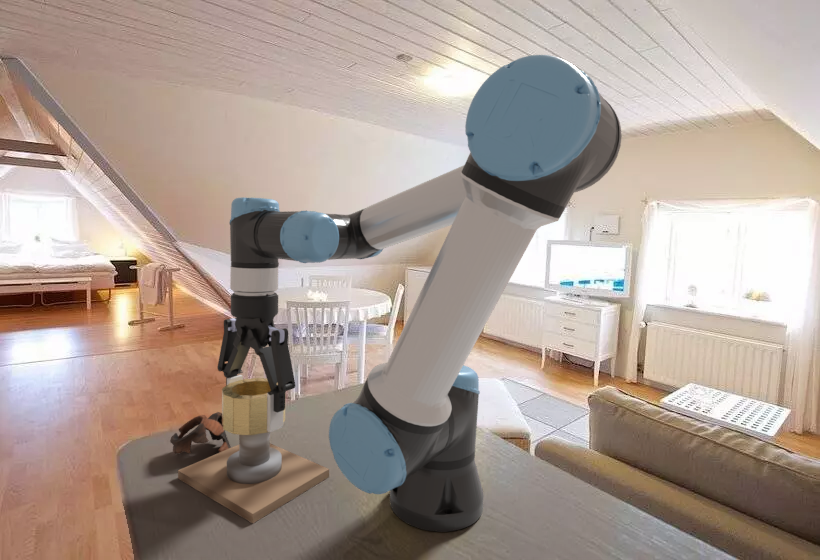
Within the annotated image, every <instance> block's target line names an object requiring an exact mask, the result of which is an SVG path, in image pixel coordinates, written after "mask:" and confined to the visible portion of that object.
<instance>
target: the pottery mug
mask: <svg viewBox="0 0 820 560" xmlns="http://www.w3.org/2000/svg"><path fill="white" fill-rule="evenodd" d="M192 429H193V430H192ZM177 430H178V431H179V433H180V434H179V435H178V433H177V432H175V433H174V434H173V435H172V436H171V438H170V441H169V442H170V444H172V453H173V454H174V455H177V454H182V453H184V452H185V453H187V454H191V453H192V451H191V450H192V449H191V448H192V443H195V444H206V443H208V442H209V439H208V437H207V431H208V432H209V434H210V437H211V440H212V441H220V440H222V444H221V446H220V447H219V449H218V453H220V452H222V451H225V450H227V449H229V448H232V446H231V444H230V441H229V439H228V436H227V434H226V430H223V425H222V412H219V411H217V412H215V413H212V414H210V416H209V417H208V416H207V415H206V414H201V415H197V416H194V417H193V418H192V419H190V420H189V421H187V422H185V423H184V424H183V425H181V427H179V428H178V429H177ZM190 430H192V431H190ZM189 431H190V432H189ZM188 432H189V433H188Z"/></svg>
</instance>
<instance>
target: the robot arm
mask: <svg viewBox="0 0 820 560" xmlns="http://www.w3.org/2000/svg"><path fill="white" fill-rule="evenodd" d="M464 127H465V136H466V137H467V147H468V150H469V154H468V157H467V159H466V162H465V163H464V164H463V165H462V166H459V167H457V168H454V169H452V170H450V171H448V172H446V173H443V174H440V175H438V176H435V177H434V178H431V179H429V180H427V181H424V182H422V183H420V184H418V185H415V186H412V187H410V188H408V189H406V190H404V191H402V192H398V193H397V194H394V195H391V196H389V197H387V198H385V199H382V200H381V201H378V202H376V203H373V204H371V205H369V206H367V207H365V208H362V209H361V210H357V211H355V212H353V213H350V214H337V213H324V212H318V211H316V210H315V211H314V210H312V211H311V210H298V211H294V210H293V211H288V210H287V211H280V204H279V202H278V201H277V200H275V199H272V198H264V197H263V198H262V197H246V196H245V197H236V198H234V199H233V200H232V202H231V207H230V219H229V225H230V227H229V228H230V229H229V235H230V236H229V237H230V242H229V243H230V279H229V281H230V282H229V283H230V285H229V287H230V290H231V291H232V292H233V293H231V295H230V314H231V316H232V317H233V318H228V319H227V318H226V319H224V320H223V335H222V342H221V347H220V351H219V357H218V362H217V371H218V372H222V373H223V376H224V377H225V386H226V385H228V384H229V383H232V382H236V381H239V380H243V379H244V375H242V374H243V373H244V371H243V370H242V368H243V366H244V364H245V360H246V358H247V356H248V354H249V351H250V349H252V350H253V351H254V353H255V355H257V356H258V357H259V359H260V362H261V365H262V368H263V372H264V374H265V377H266V378H267V380H268V383H269V386H270V389H271V391H270V392H268V393H267V431H268V432H270V433H272V432H274V431H277V430H279V429H281V428H283V427H284V423H283V410H284V409H285V410H286V399H285V392H288V391H291V390H293V389H295V388H296V382H295V376H294V371H293V365H292V360H291V359H292V358H291V352H290V349H289V348H290V346H289V344H288V341H289V330H288V329H287V328H285V327H284V328H281V329H279V328H277V327H276V326H275V322H274V321H275V319H274V318H275V317H276V316H277V315H278V314H279V295H278V293H277V292H276V291H277V290H278V289H279V265H280V264H279V263H280V262H279V260H285V261H294V262H298V263H300V264H308V263H311V264H314V263H324V262H326V261H331V260H333V261H334V260H351V259H353V260H365V259H369V258H373V257H374V258H375V257H377V256H379V255H380V254H381V252H383V250H384V249H387V248H389V247H393V246H395V245H398V244H401V243H404V242H407V241H409V240H412V239H416V238H419V237H422V236H424V235H427V234H430V233H433V232H435V231H438V230H441V229H445V228H447V227H450V228H449V230H448V233H447V235H446V237H445V239H444V242H443V244H442V246H441V247H440V249H439V251H438V254H437V256H436V258H435V261H434V262H433V265H432V267H431V269H430V271H429V272H428V273H429V274H428V275H427V278H426V280H425V282H424V283H423V286H422V288H421V290H420V291H419V294H418V297H417V299H416V300H415V303H414V305H413V307H412V309H411V312H410V313H409V316H408V317H407V320H406V321H405V324H404V326H403V328H402V331H401V333H400V335H399V337H398V339H397V341H396V343H395V345H394V348H393V350H392V352H391V354H390V357H389V358H388V361H387V362H383V363H380V364H377V365H376V366H374V367H372V369H371V370H370V372H369V373H368V375H367V378H366V380H365V382H364V384H363V386H362V389H361V391H360V393H359V395H358V397H357V398H356V399H355V400H354V401H353V402H348V403H345V404H343V406H341V408H339V409H338V410H337V411H336V412H335V413H334V414H333V416H332V418H331V420H330V422H329V427H328V441H329V447H330V450H331V452H332V455H333V458H334V461H335V463H336V465H337V467H338V469H339V470H340V471H341V473H342V474H343V476H344V477H345V478H346V479H347V481H348V482H350V483H351V484H352V485H353V486H354V487H355V488H357V489H359V490H361V491H362V492H365V493H367V494H374V495H383V494H386V493H388V492H389V505H390V508H391V509H392V512H393V513H394V514H395V516H397V517H398V519H400V520H402V521H403V522H404V523H406V524H408V525H410V526H412V527H414V528H417V529H421V530H424V531H430V532H437V533H438V532H440V533H441V532H442V533H443V532H454V531H458V530H462V529H465V528H467V527H470V526H472V525H473V524H475V523H476V522H477V521H478V520H479V518H481V516H482V513H483V510H484V490H483V487H482V482H481V479H480V478H481V477H480V475H479V471H478V468H477V463H476V457H475V455H476V443H477V442H476V441H477V440H476V439H477V428H478V427H477V426H478V425H477V424H478V409H479V398H480V397H479V395H480V393H481V392H480V391H481V390H479V389H480V388H479V387H480V386H479V375H478V373H477V372H476V371H475V370H474V368H471V367H470V366H467V365H465V363H466V361H467V359H468V358H469V355H471V352H472V350H473V348H474V347H475V344H476V343H477V341H478V339H479V337H480V335H481V333H482V331H483V330H484V328H485V326H486V324H487V323H488V322H489V321H488V320H489V319H490V316H491V315H492V313H493V311H494V309H495V307H496V306H497V304H498V302H499V301H500V299H501V297H502V295H503V293H504V291H505V289H506V287H507V286H508V283H509V282H510V280H511V278H512V277H513V274H514V273H515V271H516V269H517V267H518V265H519V264H520V262H521V259H522V258H523V256H524V254H525V253H526V250H527V249H528V247H529V245H530V243H531V241H532V239H533V238H534V236H535V233H537V232H536V231H537V230H538V229H540V228H541V227H543V226H546V225H549V224H553V223H555V222H558V221H559V220H560V218H561V216H562V215H563V213H564V211H565V209H566V208H567V206H568V204H569V202H570V201H571V199H572V197H573V195H574V194H575V193H578V192H580V191H584V190H586V189H588V188H590V187H592V186H594V185H595V184H597V183H598V182H599V181H600V180H601V179H602V178H604V176H605V175H606V174H608V173H609V171H610V170H611V169H612V167H613V166H614V164H615V162H616V160H617V158H618V156H619V153H620V152H619V151H620V148H621V146H622V127H621V123H620V120H619V116H618V115H617V113H616V111H615V109H614V108H613V107H612V105H611V104H610V103H609V102H608V101H607V100H606V99H605V98H604V97H603V96H602V94H601V93H600V92H599V89H598V88H597V86H596V85H595V82H594V81H593V79H592V78H591V77H590V76H588V74H587V73H586V72H585V71H583V70H581V69H579V68H577V67H576V66H575V65H573V63H570V62H569V61H567V60H565V59H563V58H561V57H558V56H554V55H548V54H533V55H532V54H531V55H525V56H523V57H520V58H517V59H515V60H513V61H511V62H510V63H508V64H504V65H502V66H501V67H499V68H498V69H497V70H495V71H494V72H493V73H492V74H491V75H489V76H488V77H487V79H485V81H484V82H483V83H482V84H481V86H480V87H479V88H478V90H476V93H475V95H474V97H473V98H472V100H471V102H470V105H469V107H468V110H467V114H466V121H465V126H464ZM277 382H278V385H277Z"/></svg>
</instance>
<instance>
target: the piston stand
mask: <svg viewBox="0 0 820 560" xmlns="http://www.w3.org/2000/svg"><path fill="white" fill-rule="evenodd" d="M238 436H239V437H238V439H239V440H238V441H239V442H238V443H239V444H237V445H234V446H231V448H229V449H227V450H225V451H222V452H218V453H216V454H213V455H211V456H208V457H206V458H204V459H201V460H199V461H196V462H194V463H193V464H190V465H187V466H185V467H182V468H180V469H178V470H177V479H178V480H180V481H181V482H183V483H185V484H186V485H188V486H189V487H192V488H193V489H195V490H196V491H198V492H200V493H202V494H203V495H205V496H206V497H208V498H210V499H211V500H212V501H214V502H216V503H218V504H219V505H221V506H223V507H224V508H226V509H228V510H230V511H231V512H233V513H235V514H237V515H239V517H240V518H243V519H244V520H247V522H249V523H251V524H255V523H256V522H258V521H259V520H261V519H263V518H264V517H266V516H268V515H269V514H270V513H273V512H274V511H276V510H277V509H280V508H281V507H283V506H284V505H286V504H287V503H289V502H290V501H292V500H294V499H295V498H297V497H299V496H301V495H302V494H304V493H305V492H308V491H309V490H311V489H312V488H313V487H315V486H317V485H319V484H320V483H322V482H323V481H325V480H327V479H328V478H329V477H330V468H327V467H325V466H323V465H321V464H319V463H316V462H314V461H311V460H310V459H308V458H304V457H302V456H301V455H298V454H296V453H293V452H292V451H289V450H287V449H284V448H282V447H280V446H277V445H275V444H272V443H271V432H267V433H261V434H255V435H239V434H238Z"/></svg>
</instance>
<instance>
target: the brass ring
mask: <svg viewBox="0 0 820 560" xmlns="http://www.w3.org/2000/svg"><path fill="white" fill-rule="evenodd" d="M277 385H278V382H277ZM270 391H271V389H270V386H269V383H268V380H267V377H266V378H265V377H256V378H245V379H244V378H243V380H239V381H236V382H232V383H229V384H228V385H226V384H225V386H224V387H222V389H221V413H222V425H223V430H225V432H228V433H229V434H230V433H231V434H232V435H238V436H239V435H255V434H261V433H267V432H268V431H267V393H268V392H270ZM286 392H287V391H286ZM286 392H285V400H286V399H287V398H286V396H287V395H286ZM285 421H286V408H285V409H284V410H283V424H284V422H285Z"/></svg>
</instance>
